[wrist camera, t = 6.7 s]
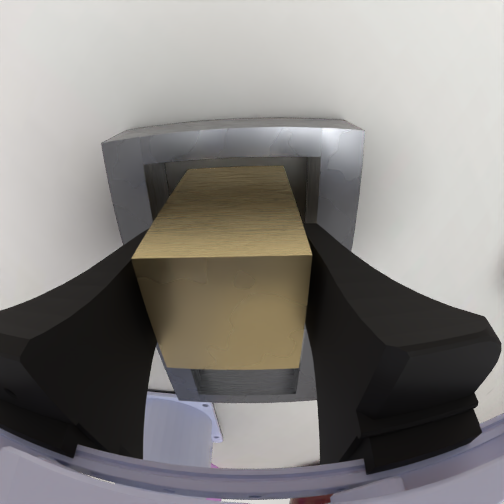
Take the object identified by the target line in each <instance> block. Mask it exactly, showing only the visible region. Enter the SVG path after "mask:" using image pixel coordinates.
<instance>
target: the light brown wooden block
mask: <svg viewBox="0 0 504 504" xmlns="http://www.w3.org/2000/svg"><path fill="white" fill-rule="evenodd" d="M131 259H132V263H133V266H134V270H135V274H136V277H137V280H138V284H139V287H140V291H141V294H142V297H143V300H144V303H145V307H146V310H147V313H148V316H149V319H150V322H151V325H152V328H153V331H154V334H155V336H156V339H157V342H158V345H159V348H160V350H161V353H162V356H163V358H164V361H165V364H166V366H167V367H168V368H185V369H212V370H264V369H291V368H299V363H300V356H301V349H302V341H303V334H304V326H305V318H306V310H307V302H308V293H309V284H310V274H311V264H312V252H311V249H310V246H309V242H308V239H307V236H306V233H305V229H304V226H303V223H302V220H301V217H300V214H299V211H298V208H297V205H296V201H295V198H294V195H293V192H292V189H291V186H290V183H289V181H288V178H287V175H286V172H285V169H284V166H241V167H216V168H198V169H188V170H187V172H186V173H185V174H184V176H183V177H182V179H181V180H180V182H179V183H178V185H177V186H176V188H175V189H174V191H173V192H172V194H171V195H170V197H169V198H168V200H167V201H166V203H165V204H164V206H163V208H162V209H161V211H160V212H159V214H158V215H157V217H156V219H155V220H154V222H153V223H152V225H151V227H150V228H149V230H148V231H147V233H146V235H145V236H144V238H143V240H142V241H141V243H140V245H139V246H138V248H137V250H136V251H135V253H134V255H133V257H132V258H131Z"/></svg>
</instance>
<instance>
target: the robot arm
mask: <svg viewBox="0 0 504 504" xmlns="http://www.w3.org/2000/svg"><path fill="white" fill-rule="evenodd" d="M303 226H304V229H305V233H306V236H307V239H308V242H309V246H310V249H311V252H312V264H311V274H310V284H309V293H308V302H307V310H306V318H305V326H306V330H307V334H308V338H309V342H310V346H311V351H312V356H313V363H314V372H315V381H316V392H317V404H318V419H319V437H320V465H315V466H305V467H292V468H273V469H227V468H211V459H212V446H213V442H222V441H223V437H222V434H221V430H220V427H219V424H218V420H217V417H216V414H215V410H214V407H213V403H212V402H192V401H179V400H178V398H177V395H176V394H170V393H159V392H149V391H147V390H148V383H149V377H150V371H151V365H152V359H153V355H154V351H155V348H156V345H157V339H156V336H155V334H154V331H153V328H152V325H151V322H150V319H149V316H148V313H147V310H146V307H145V303H144V300H143V297H142V294H141V291H140V287H139V284H138V280H137V277H136V274H135V270H134V266H133V263H132V259H131V258H132V257H133V255H134V253H135V251H136V250H137V248H138V246H139V245H140V243H141V241H142V240H143V238H144V236H145V235H146V233H147V231H148V230H149V229H147V230H145V231H144V232H142V233H140V234H139V235H137V236H136V237H134V238H133V239H132V240H130V241H129V242H127V243H126V244H125V245H123V246H122V247H120V248H119V249H118V250H116V251H115V252H113V253H112V254H111V255H109V256H108V257H106V258H105V259H103V260H102V261H100V262H99V263H97V264H96V265H94V266H93V267H91V268H90V269H88V270H87V271H85V272H84V273H82V274H80V275H79V276H77V277H75V278H73V279H72V280H70V281H68V282H66V283H65V284H63V285H61V286H59V287H57V288H55V289H53V290H51V291H48V292H46V293H44V294H42V295H40V296H38V297H36V298H34V299H31V300H29V301H26V302H24V303H21V304H19V305H16V306H13V307H10V308H8V309H5V310H1V311H0V504H248V503H236V502H222V501H212V500H206V498H216V499H240V500H242V499H243V500H262V499H263V500H264V499H287V498H301V497H311V496H320V495H328V494H333V495H332V496H331V497H330V500H331V502H330V503H328V504H501V503H502V502H504V413H503V414H500V415H498V416H496V417H494V418H492V419H490V420H487V421H485V422H483V423H480V424H479V422H478V419H477V417H476V414H475V412H474V408H476V407H477V405H478V400H477V398H476V395H475V393H474V392H475V391H476V390H477V389H478V387H479V386H480V385H481V384H482V382H483V381H484V380H485V379H486V377H487V376H488V375H489V373H490V372H491V371H492V369H493V368H494V366H495V365H496V363H497V361H498V359H499V356H500V353H501V342H500V340H499V338H498V337H497V335H496V334H495V332H494V330H493V329H492V327H491V325H490V324H489V322H488V321H487V319H486V318H485V317H484V316H481V315H478V314H474V313H471V312H468V311H464V310H461V309H458V308H455V307H452V306H449V305H446V304H444V303H441V302H439V301H436V300H433V299H431V298H429V297H426V296H424V295H422V294H420V293H417V292H415V291H413V290H411V289H409V288H407V287H405V286H403V285H401V284H400V283H398V282H396V281H394V280H392V279H391V278H389V277H387V276H386V275H384V274H382V273H381V272H379V271H377V270H376V269H374V268H373V267H371V266H370V265H368V264H367V263H366V262H364V261H363V260H361V259H360V258H359V257H357V256H356V255H355V254H353V253H352V252H351V251H350V250H348V249H347V248H346V247H345V246H343V245H342V244H341V243H340V242H338V241H337V240H336V239H335V238H334V237H333V236H331V235H330V234H329V233H328V232H327V231H326V230H324V229H323V228H322V227H321V226H320V225H318V224H317V223H303ZM82 473H83V474H82ZM85 474H86V475H85ZM87 475H90V476H93V477H96V478H100V479H103V480H107V481H111V482H114V483H115V484H112V483H108V482H105V481H101V480H98V479H94V478H91V477H89V476H87Z"/></svg>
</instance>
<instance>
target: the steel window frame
mask: <svg viewBox="0 0 504 504" xmlns="http://www.w3.org/2000/svg"><path fill="white" fill-rule="evenodd" d="M364 137H365V130H363V129H361V128H359V127H357V126H355V125H353V124H351V123H349V122H347V121H345V120H336V119H316V118H242V119H222V120H207V121H195V122H184V123H175V124H166V125H158V126H150V127H143V128H136V129H130V130H126V131H124V132H122V133H120V134H118V135H116V136H114V137H112V138H110V139H108V140H106V141H104V142H102V143H101V145H102V151H103V156H104V162H105V167H106V173H107V178H108V183H109V188H110V192H111V197H112V202H113V206H114V210H115V215H116V219H117V223H118V227H119V231H120V235H121V238H122V242H123V245H125V244H126V243H127V242H129V241H130V240H132V239H133V238H134V237H136V236H137V235H139V234H140V233H142V232H144V231H145V230H147V229H149V228H150V227H151V225H152V223H153V222H154V220H155V219H156V217H157V215H158V214H159V212H160V211H161V209H162V208H163V206H164V204H165V203H166V201H167V200H168V198H169V192H168V185H167V178H166V171H165V163H164V162H175V161H187V160H201V159H218V158H240V157H308V163H307V189H306V210H305V223H317V224H318V225H320V226H321V227H322V228H323V229H324V230H326V231H327V232H328V233H329V234H330V235H331V236H333V237H334V238H335V239H336V240H337V241H338V242H340V243H341V244H342V245H343V246H345V247H346V248H347V249H348V250H350V251H351V249H352V243H353V236H354V230H355V223H356V215H357V208H358V200H359V191H360V182H361V173H362V162H363V151H364ZM156 347H157V350H158V352H159V355H160V357H161V360H162V362H163V365H164V367H165V370H166V372H167V374H168V377H169V379H170V382H171V384H172V386H173V389H174V391H175V393H176V395H177V398H178V400H179V401H192V402H213V403H274V402H295V401H309V400H317V392H316V381H315V372H314V363H313V356H312V351H311V346H310V342H309V338H308V334H307V330H306V326H304V334H303V341H302V349H301V356H300V363H299V368H291V369H264V370H212V369H185V368H168V367H167V366H166V364H165V361H164V358H163V356H162V353H161V350H160V348H159V345H158V342H157V345H156Z"/></svg>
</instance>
